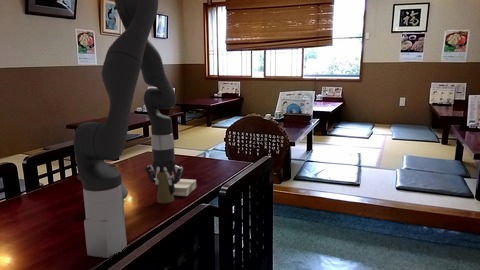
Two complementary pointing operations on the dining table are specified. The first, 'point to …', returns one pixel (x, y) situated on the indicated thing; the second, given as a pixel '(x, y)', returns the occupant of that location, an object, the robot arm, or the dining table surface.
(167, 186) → the cork
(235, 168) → the dining table surface
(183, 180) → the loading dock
